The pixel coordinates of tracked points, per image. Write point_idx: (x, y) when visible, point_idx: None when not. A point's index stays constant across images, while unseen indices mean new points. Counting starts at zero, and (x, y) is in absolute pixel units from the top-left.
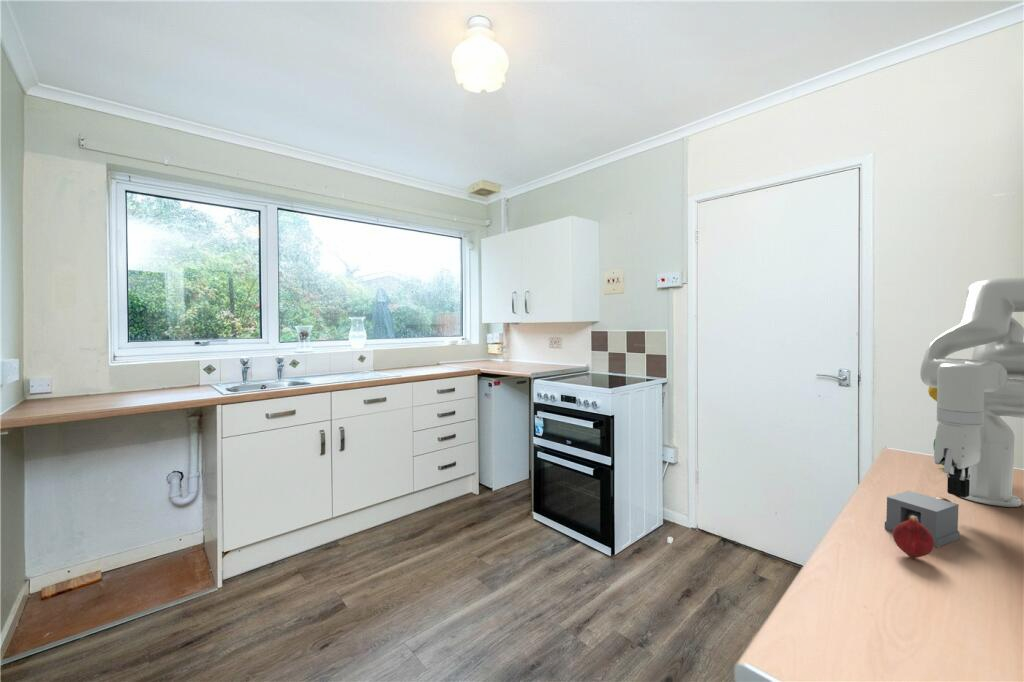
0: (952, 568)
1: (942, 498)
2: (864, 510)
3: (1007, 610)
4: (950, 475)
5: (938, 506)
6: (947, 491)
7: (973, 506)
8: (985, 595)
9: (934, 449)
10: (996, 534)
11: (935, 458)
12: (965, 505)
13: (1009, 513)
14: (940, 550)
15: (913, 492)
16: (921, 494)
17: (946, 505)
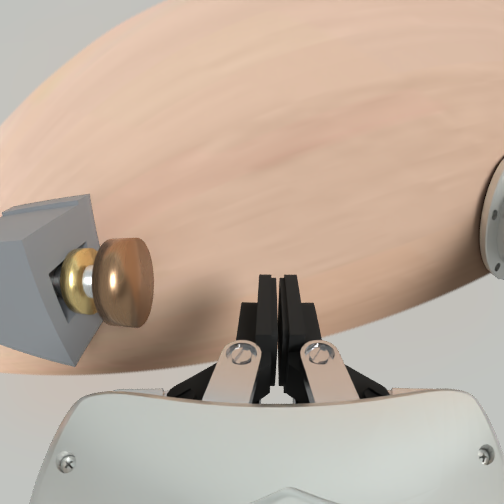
0: None
1: (112, 310)
2: (59, 97)
3: (17, 370)
4: (204, 375)
5: (16, 340)
6: (260, 275)
7: (446, 223)
8: (15, 358)
9: (32, 497)
10: None
11: (58, 433)
12: (440, 208)
13: (449, 284)
14: None
15: (21, 260)
16: (32, 282)
17: (37, 350)
